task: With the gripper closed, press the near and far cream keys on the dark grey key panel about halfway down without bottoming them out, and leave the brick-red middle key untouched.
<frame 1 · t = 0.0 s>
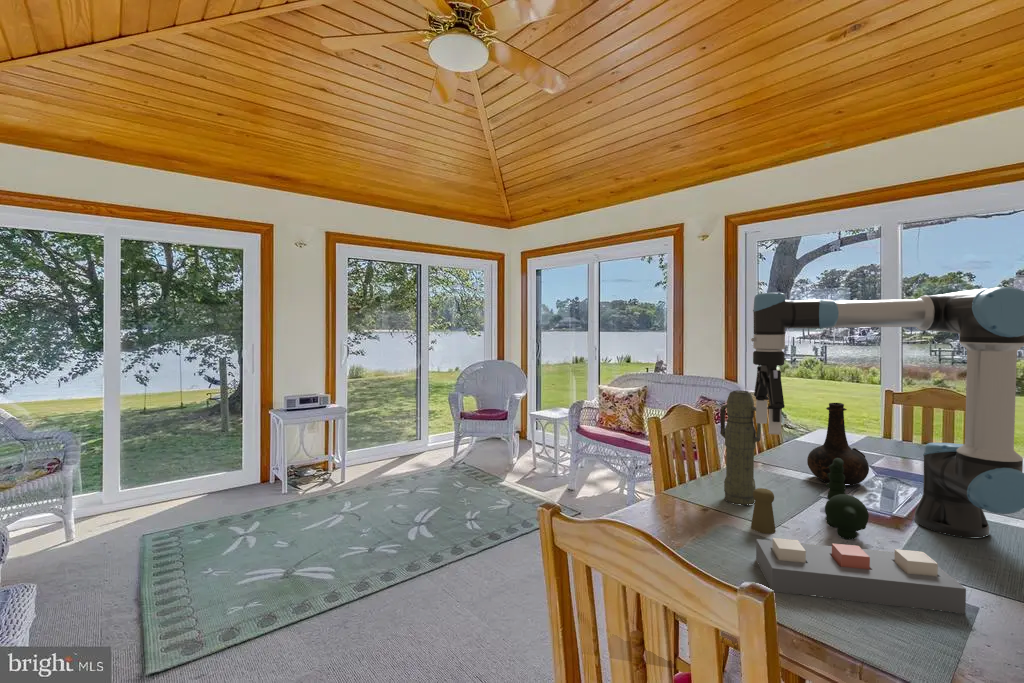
hand: (767, 428, 130), 28 cm above the table, tool pointing down, fingers open, 13 cm apart
far key: (788, 553, 107), point 5 cm above the table, slide at 0.0 cm
thermos: (739, 501, 153), on the table
toy figurine: (842, 529, 132), on the table
cork: (763, 529, 132), on the table
glass bottle: (836, 482, 170), on the table
middle key: (850, 559, 104), point 5 cm above the table, slide at 0.0 cm
key panel: (849, 583, 104), on the table
near key: (915, 565, 101), point 5 cm above the table, slide at 0.0 cm
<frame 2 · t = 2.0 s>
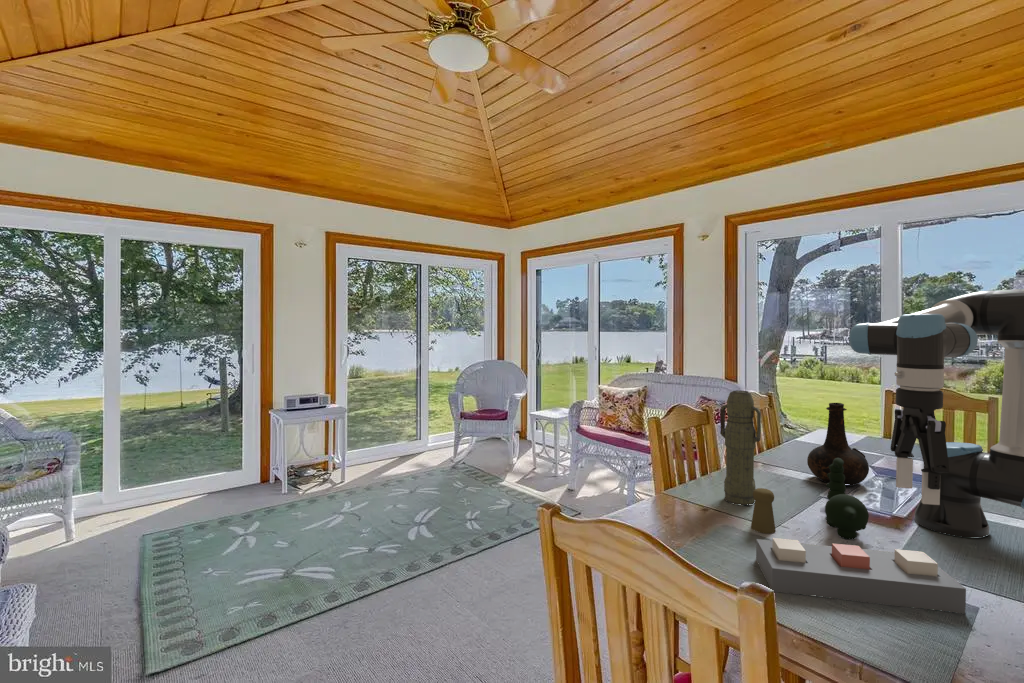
hand: (916, 495, 100), 20 cm above the table, tool pointing down, fingers open, 9 cm apart
nothing on the table moved.
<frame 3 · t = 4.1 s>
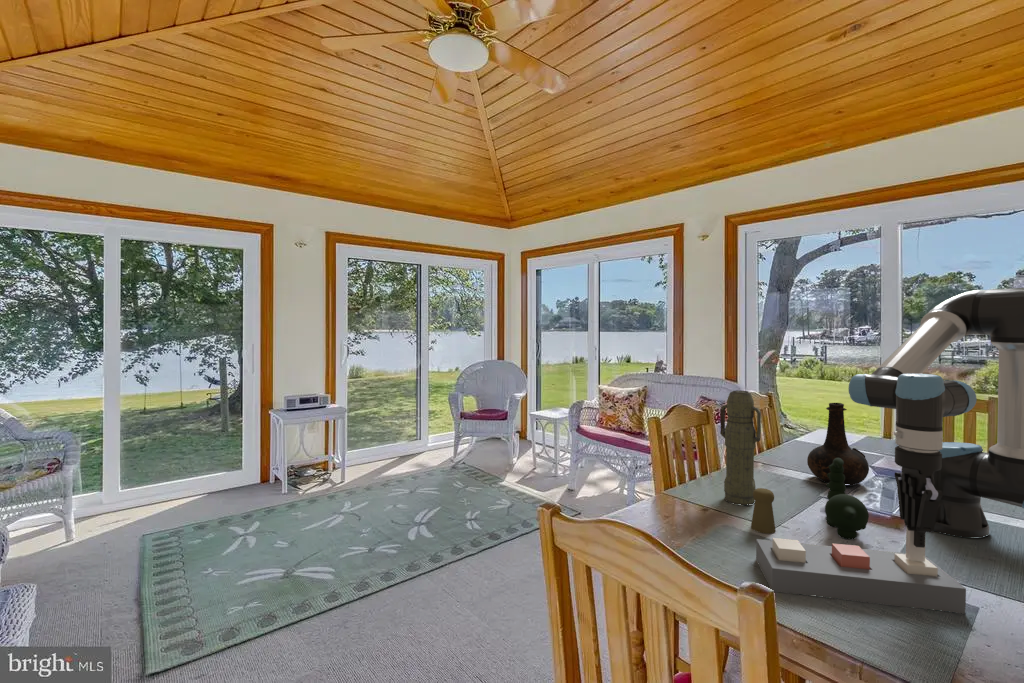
hand: (915, 559, 101), 7 cm above the table, tool pointing down, fingers closed
near key: (915, 569, 101), point 5 cm above the table, slide at 0.9 cm, touching gripper
everything else where it was.
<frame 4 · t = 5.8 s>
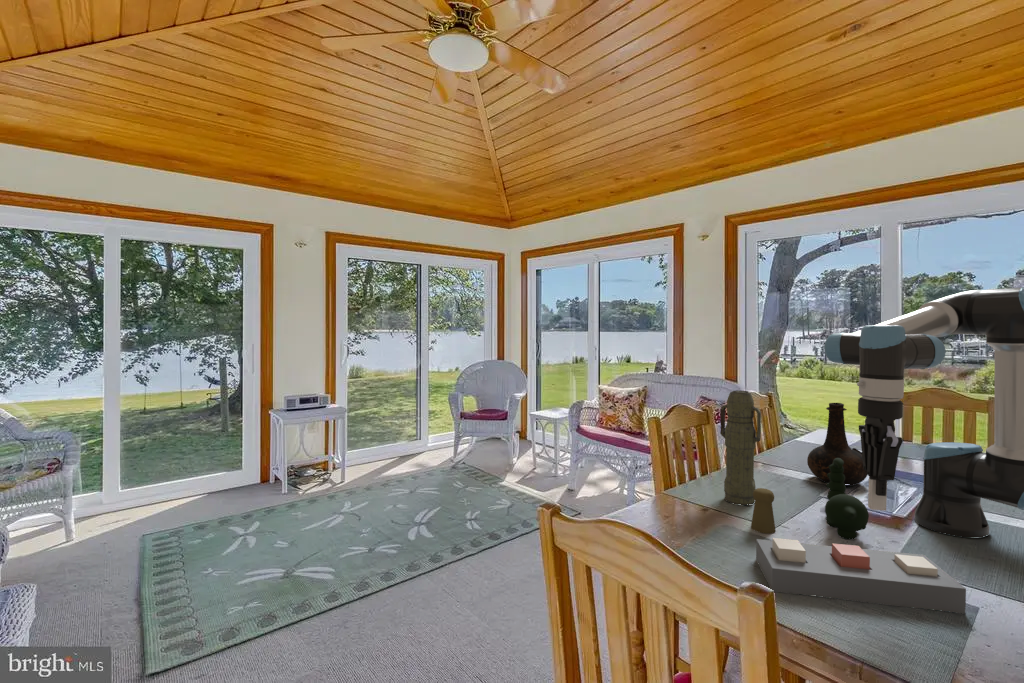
hand: (877, 508, 102), 17 cm above the table, tool pointing down, fingers closed
near key: (915, 570, 101), point 4 cm above the table, slide at 1.1 cm
everything else where it was.
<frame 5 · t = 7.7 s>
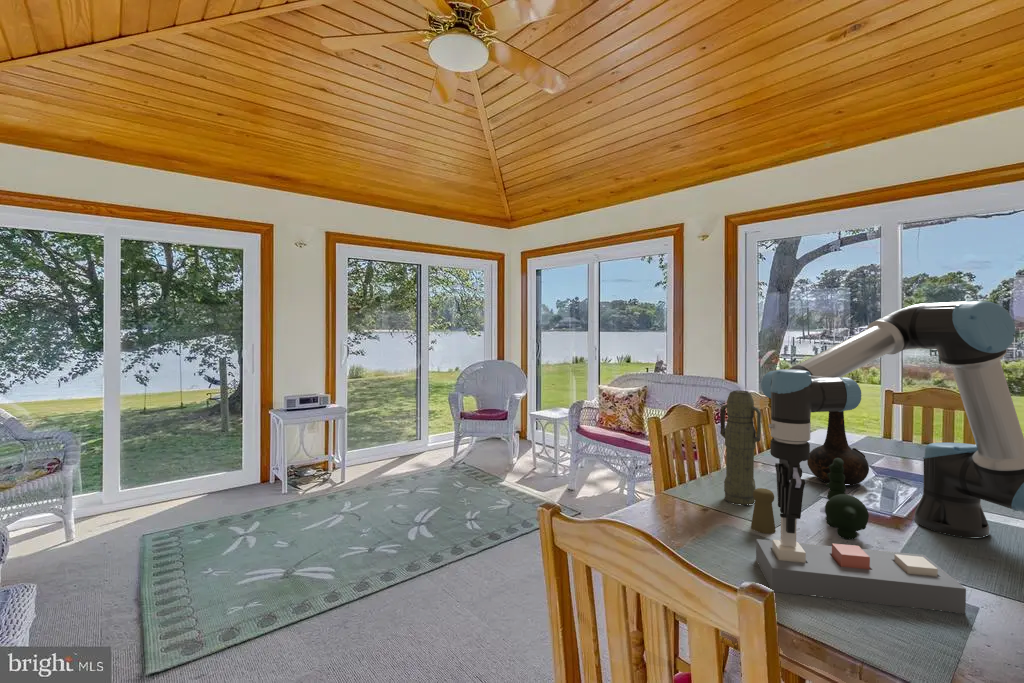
hand: (788, 544, 107), 7 cm above the table, tool pointing down, fingers closed
far key: (788, 554, 107), point 5 cm above the table, slide at 0.4 cm, touching gripper
everything else where it was.
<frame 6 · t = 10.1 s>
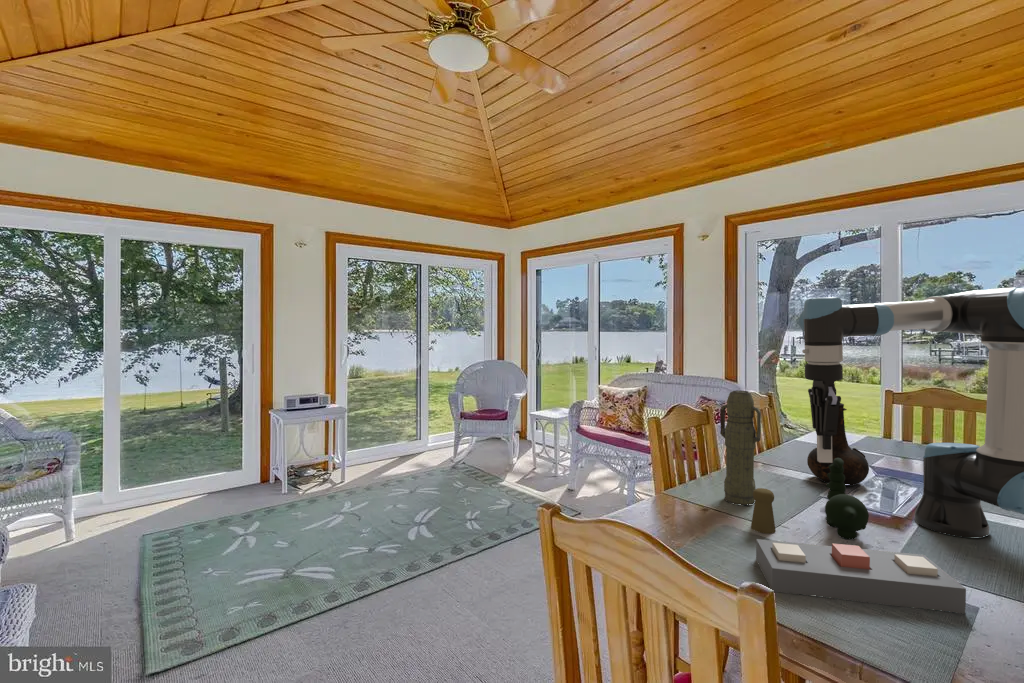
hand: (824, 461, 114), 24 cm above the table, tool pointing down, fingers closed
far key: (788, 557, 107), point 4 cm above the table, slide at 1.1 cm
everything else where it was.
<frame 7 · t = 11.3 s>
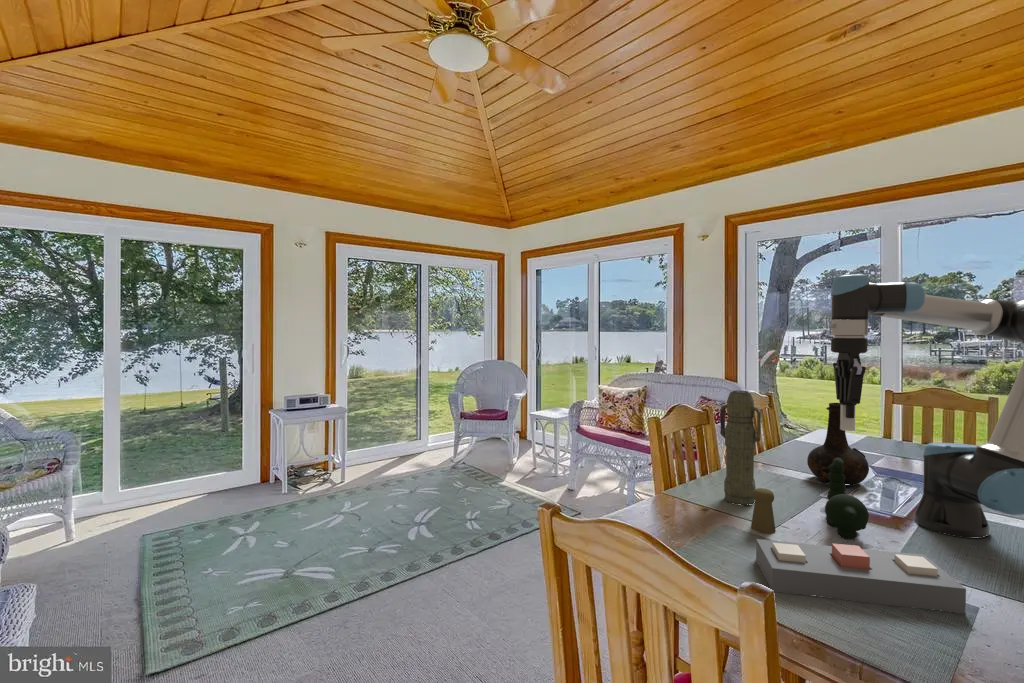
hand: (847, 429, 122), 29 cm above the table, tool pointing down, fingers closed
nothing on the table moved.
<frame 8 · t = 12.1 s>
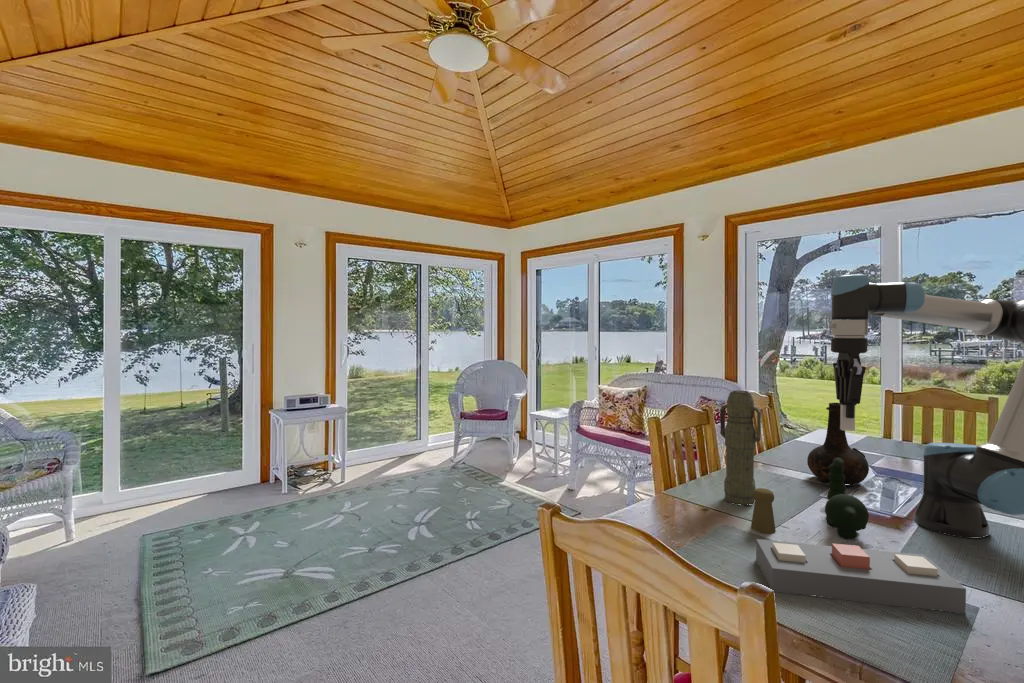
hand: (847, 429, 122), 29 cm above the table, tool pointing down, fingers closed
nothing on the table moved.
at the end: near key slide at 1.1 cm; far key slide at 1.1 cm; middle key slide at 0.0 cm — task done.
